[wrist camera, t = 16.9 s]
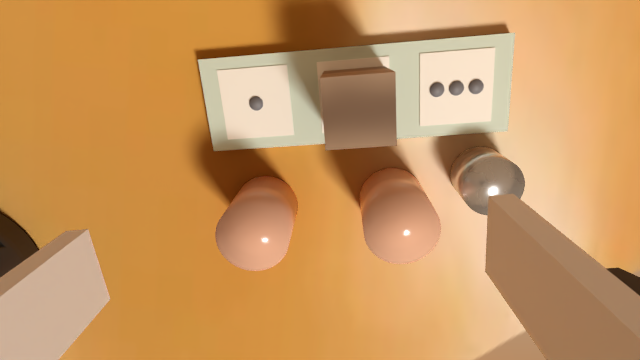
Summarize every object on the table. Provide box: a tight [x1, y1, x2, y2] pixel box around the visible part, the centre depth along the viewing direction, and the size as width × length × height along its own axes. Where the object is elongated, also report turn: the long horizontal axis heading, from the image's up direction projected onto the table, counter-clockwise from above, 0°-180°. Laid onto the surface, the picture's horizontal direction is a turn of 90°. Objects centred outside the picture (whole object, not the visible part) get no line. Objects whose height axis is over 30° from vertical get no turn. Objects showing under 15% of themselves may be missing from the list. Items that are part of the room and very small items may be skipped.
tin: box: [450, 147, 525, 215], centre depth 35 cm, size 5×5×4 cm
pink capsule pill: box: [360, 168, 441, 264], centre depth 34 cm, size 6×6×7 cm
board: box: [198, 33, 515, 151], centre depth 34 cm, size 26×8×1 cm, turn 95°
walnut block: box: [320, 66, 397, 150], centre depth 30 cm, size 5×5×7 cm
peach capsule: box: [216, 176, 298, 271], centre depth 35 cm, size 6×6×7 cm
